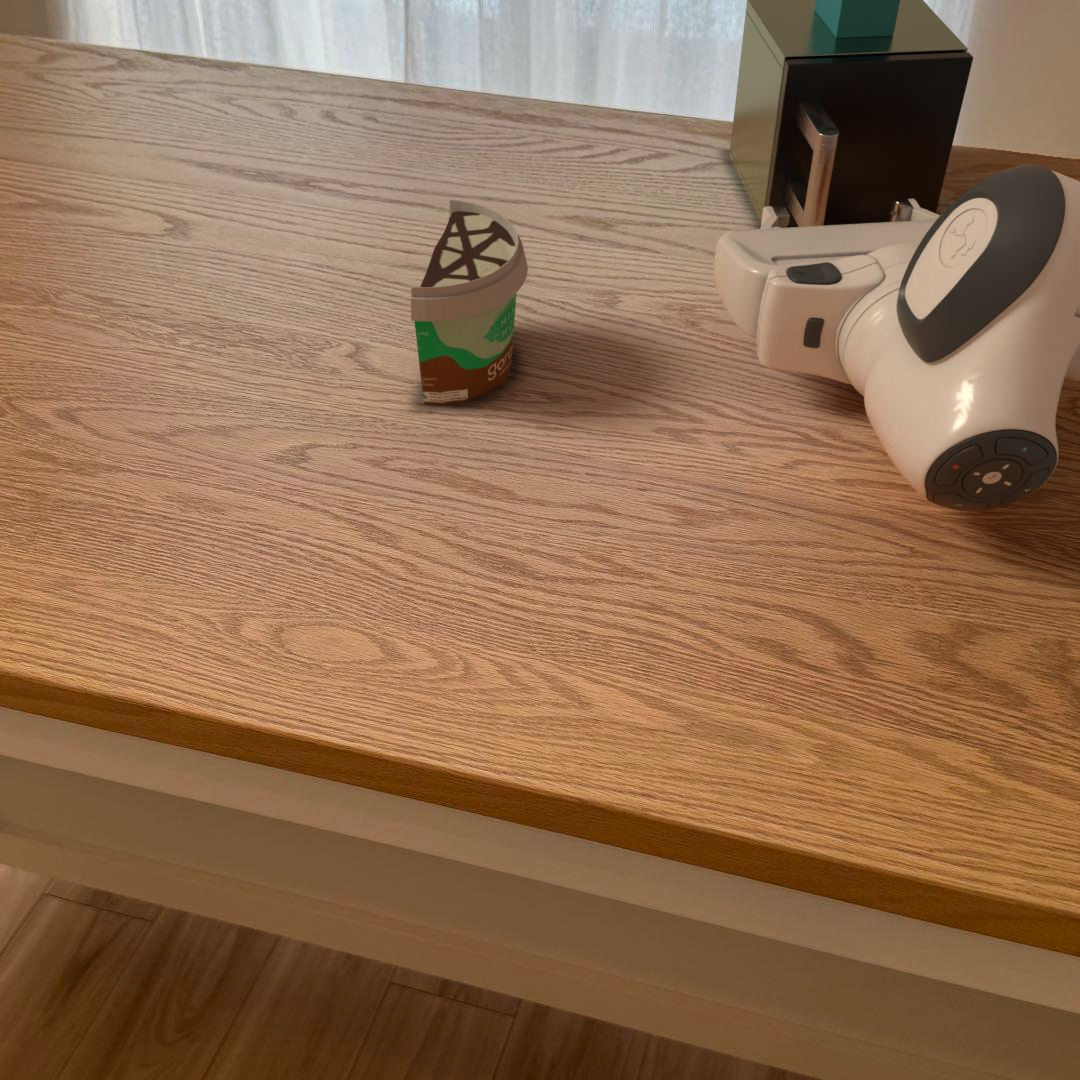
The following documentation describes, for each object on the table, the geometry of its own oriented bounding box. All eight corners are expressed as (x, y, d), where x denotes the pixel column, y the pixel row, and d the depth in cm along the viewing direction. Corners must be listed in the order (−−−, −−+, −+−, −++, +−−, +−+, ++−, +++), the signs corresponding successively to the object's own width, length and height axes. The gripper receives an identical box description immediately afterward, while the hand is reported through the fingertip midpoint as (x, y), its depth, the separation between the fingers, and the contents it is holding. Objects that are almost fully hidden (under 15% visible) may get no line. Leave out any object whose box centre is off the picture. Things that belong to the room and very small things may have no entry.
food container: (511, 433, 81) (509, 300, 74) (419, 423, 82) (408, 292, 75) (541, 329, 90) (541, 202, 83) (457, 321, 91) (451, 195, 84)
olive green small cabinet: (927, 219, 102) (968, 48, 92) (761, 228, 101) (784, 56, 91) (882, 153, 111) (915, -9, 101) (728, 160, 110) (747, -3, 100)
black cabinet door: (958, 261, 97) (1003, 89, 87) (783, 271, 96) (809, 98, 86) (929, 219, 102) (969, 51, 92) (761, 227, 101) (785, 59, 91)
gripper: (1070, 264, 77) (988, 162, 87) (748, 283, 76) (701, 177, 86) (1042, 349, 81) (966, 243, 92) (737, 368, 80) (694, 258, 90)
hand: (836, 211), depth 89 cm, fingers open, 8 cm apart
